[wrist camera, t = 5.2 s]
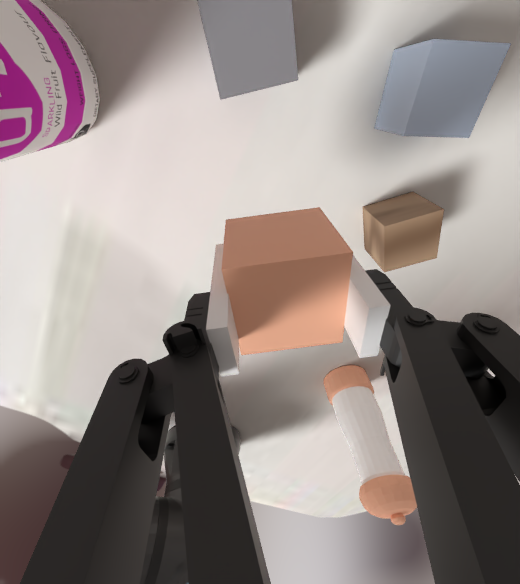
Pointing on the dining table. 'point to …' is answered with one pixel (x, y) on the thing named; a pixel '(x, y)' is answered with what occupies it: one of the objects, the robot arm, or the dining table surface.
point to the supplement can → (42, 80)
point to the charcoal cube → (250, 43)
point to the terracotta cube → (286, 280)
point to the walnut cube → (402, 231)
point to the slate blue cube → (439, 87)
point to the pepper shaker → (370, 445)
